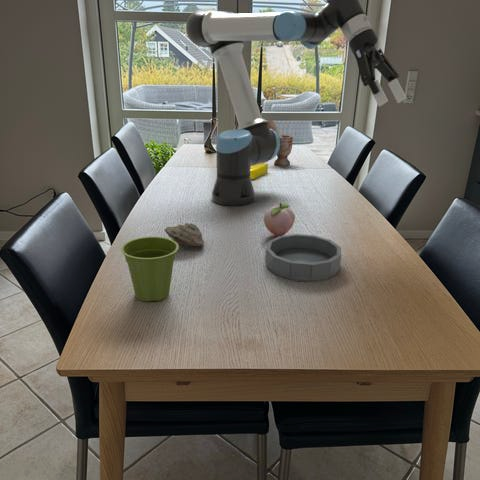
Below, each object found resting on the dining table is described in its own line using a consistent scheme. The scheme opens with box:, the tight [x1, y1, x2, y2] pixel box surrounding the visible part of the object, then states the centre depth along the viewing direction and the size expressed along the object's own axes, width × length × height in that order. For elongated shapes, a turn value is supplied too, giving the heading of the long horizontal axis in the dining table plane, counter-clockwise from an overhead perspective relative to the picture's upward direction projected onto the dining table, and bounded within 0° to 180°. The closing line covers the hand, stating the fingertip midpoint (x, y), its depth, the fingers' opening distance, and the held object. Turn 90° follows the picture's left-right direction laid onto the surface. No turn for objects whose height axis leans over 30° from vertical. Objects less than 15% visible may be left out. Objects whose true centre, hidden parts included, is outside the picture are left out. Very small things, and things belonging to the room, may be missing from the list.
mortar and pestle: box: [266, 119, 293, 167], centre depth 209 cm, size 12×9×20 cm
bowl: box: [264, 233, 342, 283], centre depth 115 cm, size 18×18×4 cm
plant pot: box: [120, 236, 180, 302], centre depth 99 cm, size 12×12×11 cm
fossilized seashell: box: [164, 222, 205, 247], centre depth 125 cm, size 11×11×7 cm
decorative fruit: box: [263, 202, 296, 237], centre depth 131 cm, size 9×8×10 cm
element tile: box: [250, 162, 269, 181], centre depth 197 cm, size 15×15×5 cm
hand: (393, 102), depth 133 cm, fingers open, 13 cm apart
